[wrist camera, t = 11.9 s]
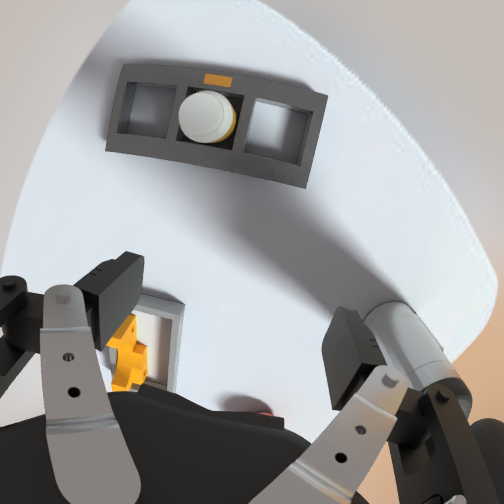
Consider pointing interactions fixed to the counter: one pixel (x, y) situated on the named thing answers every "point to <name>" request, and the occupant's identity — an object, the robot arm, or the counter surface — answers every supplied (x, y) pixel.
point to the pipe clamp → (128, 356)
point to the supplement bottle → (207, 117)
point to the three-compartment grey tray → (237, 158)
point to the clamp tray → (176, 315)
